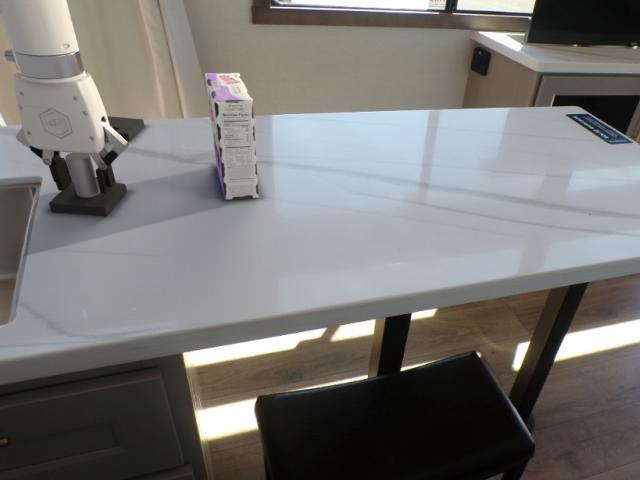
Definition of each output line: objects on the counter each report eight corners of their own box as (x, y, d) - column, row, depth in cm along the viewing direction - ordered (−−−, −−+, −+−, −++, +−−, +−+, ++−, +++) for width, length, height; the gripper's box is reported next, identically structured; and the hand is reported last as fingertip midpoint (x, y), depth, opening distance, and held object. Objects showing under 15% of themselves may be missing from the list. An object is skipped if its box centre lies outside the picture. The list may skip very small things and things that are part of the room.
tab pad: (51, 212, 78) (34, 164, 73) (82, 181, 86) (69, 137, 81) (106, 216, 78) (94, 169, 74) (133, 185, 86) (122, 141, 82)
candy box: (215, 165, 95) (203, 71, 85) (248, 163, 97) (240, 71, 87) (224, 201, 85) (212, 99, 75) (260, 198, 87) (253, 98, 77)
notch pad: (86, 137, 99) (84, 129, 98) (104, 122, 105) (102, 115, 104) (129, 141, 100) (128, 133, 99) (144, 126, 106) (143, 119, 105)
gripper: (-37, 64, 65) (14, 195, 76) (106, 78, 66) (135, 204, 77) (-2, 50, 71) (41, 173, 82) (128, 62, 72) (153, 182, 83)
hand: (86, 187), depth 80 cm, fingers open, 5 cm apart
